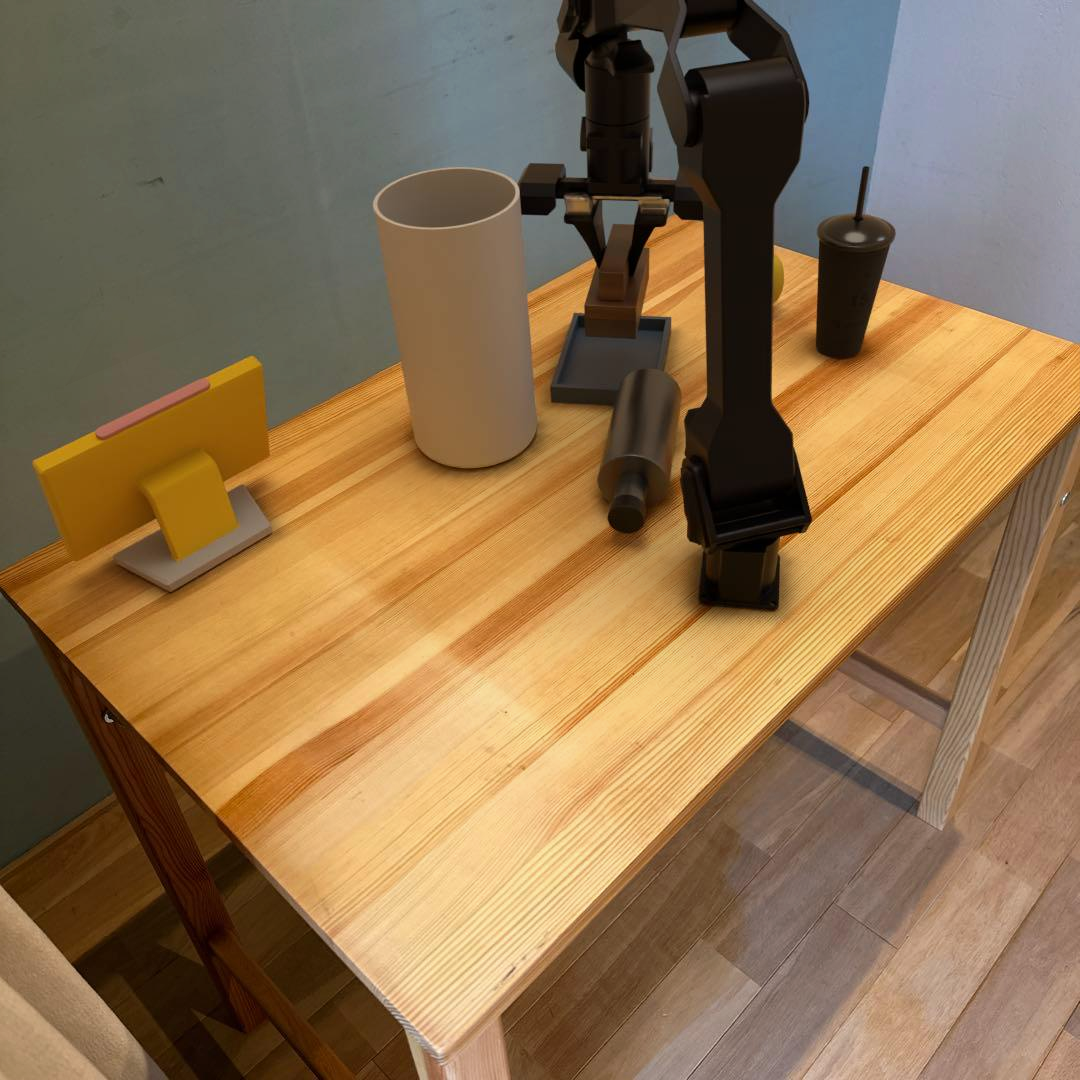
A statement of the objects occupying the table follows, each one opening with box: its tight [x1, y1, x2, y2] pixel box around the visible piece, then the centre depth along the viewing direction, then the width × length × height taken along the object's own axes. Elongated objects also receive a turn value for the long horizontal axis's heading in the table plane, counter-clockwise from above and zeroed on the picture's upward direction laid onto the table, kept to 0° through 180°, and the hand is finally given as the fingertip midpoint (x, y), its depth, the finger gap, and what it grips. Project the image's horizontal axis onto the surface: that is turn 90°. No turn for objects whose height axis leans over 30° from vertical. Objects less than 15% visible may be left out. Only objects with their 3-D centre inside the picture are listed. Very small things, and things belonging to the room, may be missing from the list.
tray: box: [549, 312, 673, 407], centre depth 109 cm, size 15×11×2 cm
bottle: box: [596, 369, 683, 535], centre depth 93 cm, size 6×19×6 cm, turn 169°
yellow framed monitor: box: [31, 355, 273, 593], centre depth 87 cm, size 20×8×16 cm, turn 134°
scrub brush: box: [583, 223, 651, 339], centre depth 100 cm, size 12×5×6 cm, turn 169°
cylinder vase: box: [372, 166, 538, 469], centre depth 94 cm, size 12×12×25 cm
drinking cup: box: [815, 165, 897, 360], centre depth 103 cm, size 8×8×20 cm
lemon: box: [773, 252, 785, 305], centre depth 114 cm, size 6×6×8 cm
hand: (618, 273), depth 100 cm, fingers closed on scrub brush, 2 cm apart
